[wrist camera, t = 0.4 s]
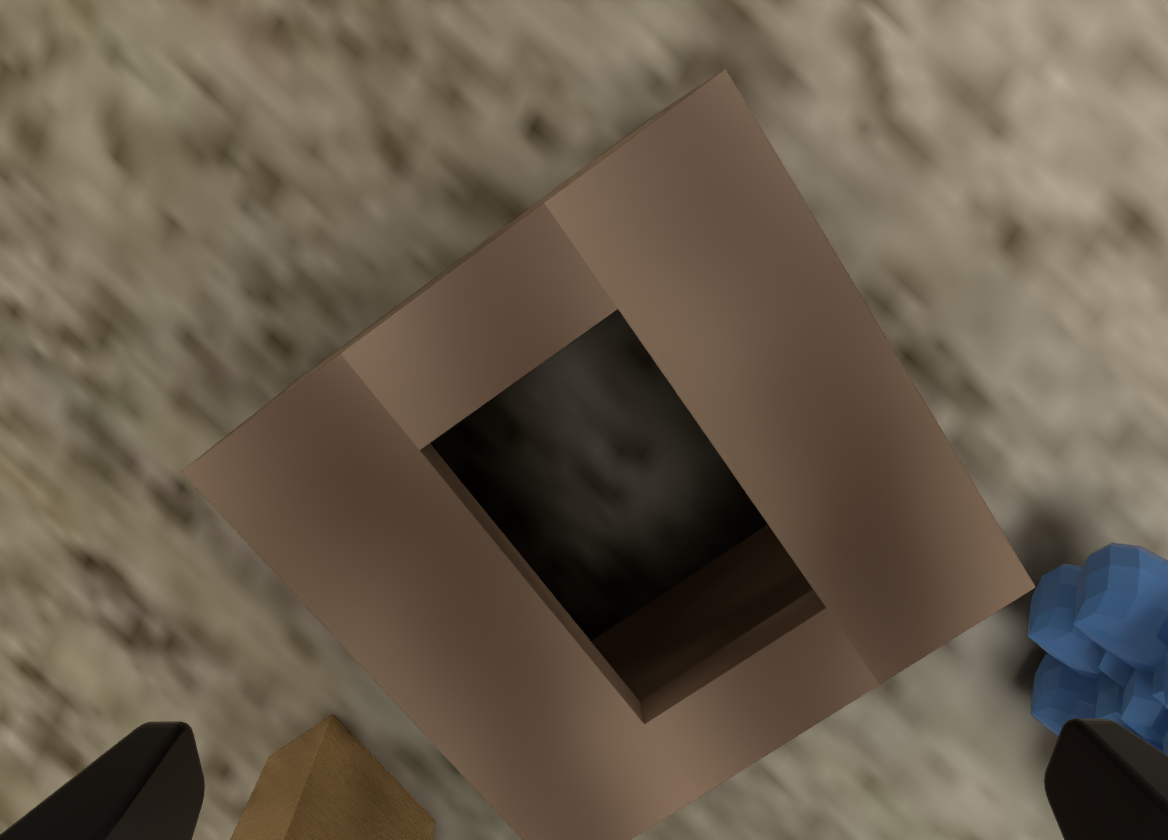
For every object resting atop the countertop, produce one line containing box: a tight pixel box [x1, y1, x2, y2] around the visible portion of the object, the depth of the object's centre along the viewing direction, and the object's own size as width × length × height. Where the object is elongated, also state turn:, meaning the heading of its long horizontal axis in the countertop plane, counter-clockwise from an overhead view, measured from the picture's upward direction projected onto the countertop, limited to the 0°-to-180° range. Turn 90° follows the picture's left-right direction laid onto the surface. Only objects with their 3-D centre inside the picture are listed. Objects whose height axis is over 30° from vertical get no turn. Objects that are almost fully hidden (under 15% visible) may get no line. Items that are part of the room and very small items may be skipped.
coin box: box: [181, 69, 1035, 840], centre depth 19 cm, size 12×12×7 cm
